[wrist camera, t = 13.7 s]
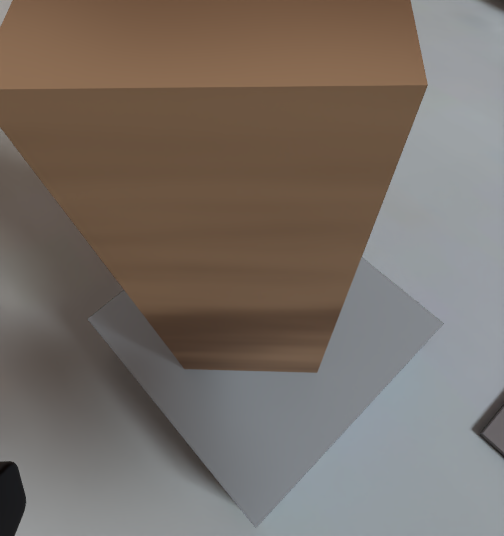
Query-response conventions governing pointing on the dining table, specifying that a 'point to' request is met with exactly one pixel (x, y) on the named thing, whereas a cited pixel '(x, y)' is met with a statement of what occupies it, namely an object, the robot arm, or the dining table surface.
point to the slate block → (274, 389)
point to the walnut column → (218, 155)
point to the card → (495, 431)
